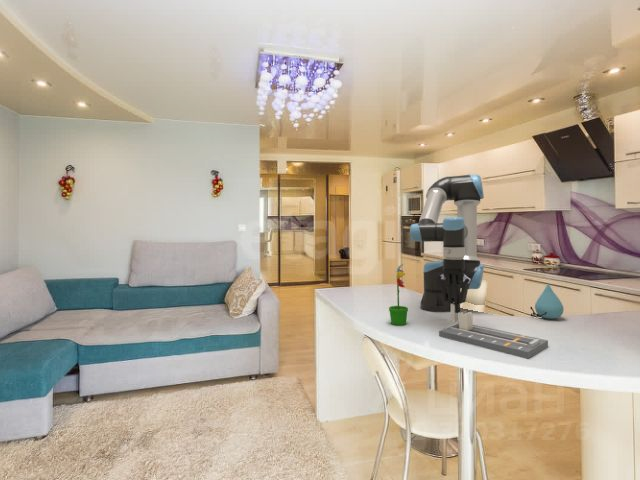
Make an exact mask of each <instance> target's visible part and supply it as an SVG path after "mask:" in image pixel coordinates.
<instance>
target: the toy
mask: <svg viewBox="0 0 640 480" xmlns="http://www.w3.org/2000/svg"><path fill="white" fill-rule="evenodd" d="M534 309H535V310H534ZM530 310H532V312H531V313H530V317H536V318H543V319H547V320H554V319H560V317H562V315H563V314H564V305H563V303H562V301H561V300H560V298H559V296H557V294H556V293H555V292H554V290H553V288H552V287H551V285H550V284H549V283H547V284H546V286H545V288H544V290H543V291H542V292H541V294H540V295H539V297H538V299H537V300H536V302H535V305H534V308H533V307H532V306H530Z"/></svg>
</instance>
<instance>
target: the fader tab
mask: <svg viewBox="0 0 640 480" xmlns="http://www.w3.org/2000/svg"><path fill="white" fill-rule="evenodd" d="M473 318H474V317H473V312H471V311H460V312H459V313H458V324H459V329H462V330H467V331H468V330H471V329H473V325H474V324H473Z"/></svg>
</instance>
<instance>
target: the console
mask: <svg viewBox="0 0 640 480" xmlns="http://www.w3.org/2000/svg"><path fill="white" fill-rule="evenodd" d="M438 334H439V335H438V336H439V337H441V338H445V339H448V340H449V339H450V340H453V341H457V342H461V343H465V344H468V345H473V346H477V347H480V348H484V349H489V350H493V351H497V352H500V353H504V354H508V355H511V354H512V355H513V356H516V357H520V358H523V359H527V360H529V359H530V358H532V357H534V356H535V355H536V354H539V353H540V352H541V351H543V350H545V349H546V348H548V347H549V340H548V339H543V338H540V337H535V336H534V337H533V336H528V335H523V334H521V333H520V334H518V333H513V332H510V331H504V330H500V329H495V328H490V327H486V326H480V325H475V324H473V329H471V330H468V331H467V330H462V329H459V323H457V324H454V325H452V326H448V327H445V328H443V329H440V330H438Z"/></svg>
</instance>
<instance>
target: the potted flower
mask: <svg viewBox="0 0 640 480" xmlns="http://www.w3.org/2000/svg"><path fill="white" fill-rule="evenodd" d="M403 265H404V263H401V264H400V265H399V266H397V270H396V273H395V274H396V288H397V289H396V293H397V294H396V295H397V298H396V299H397V301H396V303H397V305H391V306H389V307H388V312H389V316H390V317H389V318H390V323H391V325H394V326H405V325H406V324H407V318H408V311H409V307H407V306H405V305H400V288H405V285H404V284H405V282H404V281H403V280H402V279H401V278H402V277H404V276H405V275H406V273H405V272H404V271H403V270H402V269H401V267H402V266H403ZM399 287H400V288H399Z"/></svg>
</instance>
